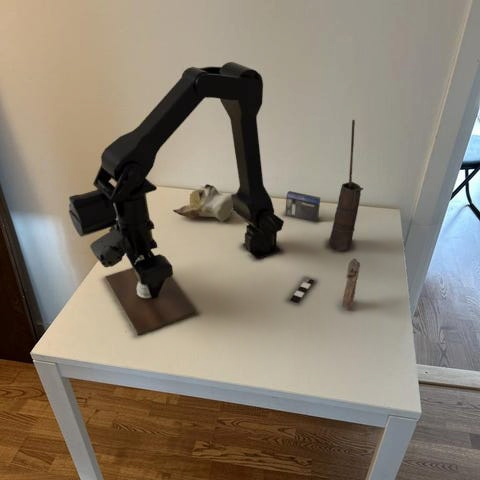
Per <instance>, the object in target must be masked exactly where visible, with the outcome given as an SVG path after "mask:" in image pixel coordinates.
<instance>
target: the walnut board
mask: <svg viewBox="0 0 480 480" xmlns="http://www.w3.org/2000/svg"><path fill="white" fill-rule="evenodd" d="M104 280H105V281H106V282H107V284H108V286H109V288H110V290H111V291H112V293H113V295H114V296H115V299H116V300H117V303H118V304H119V305H120V307H121V309H122V311H123V313H124V315H125V316H126V318H127V319H128V321H129V323H130V325H131V326H132V328H133V331H134V332H135V333H136V335H137V336H139V335H143V334H144V333H147V332H150V331H153V330H155V329H158V328H162V327H164V326H166V325H169V324H171V323H174V322H177V321H180V320H182V319H186V318H189V317H190V316H193V315H196V310H195V309H194V308H193V306H192V305H191V304H190V303H189V301H188V299H187V298H186V297H185V296H184V295H183V293H182V292H181V290H180V289H179V288H178V286H177V285H176V284H175V282H174V281H173V280H172V278H171V277H169V278H166V279H165V281H164V283H163V285H162V288H161V290H160V292H159V294H158V297H157V298H154V299H152V298H149V299H145V298H142V297H140V296H139V295H138V294H137V289H136V288H137V285H138V282H139V281H138V279H137V278H136V276H135V272H134V269H133V267H130V268H127V269H124V270H121V271H118V272H115V273H111V274H108V275H105V276H104Z"/></svg>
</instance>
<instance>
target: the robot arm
mask: <svg viewBox="0 0 480 480" xmlns="http://www.w3.org/2000/svg"><path fill="white" fill-rule="evenodd" d="M263 93H264V79H263V76H262V74H260V72H258V71H257V70H255V69H254V68H250V67H248V66H245V65H243V64H240V63H237V62H234V61H229V62H226V63H224V64H223V65H222V66H204V67H197V66H196V67H195V66H191V67H190V66H189V67H187V68H186V69H185V70H183V72H182V74H181V77H180V78H179V79H178V80H177V81H176V83H175V84H174V85H173V86H172V87H171V89H170V90H169V91H167V93H166V94H165V96H163V98H161V100H160V101H159V102H158V103H157V105H156V106H155V107H153V109H152V110H151V111H150V112H149V114H148V115H147V116H145V118H144V119H143V120H142V121H141V122H140V123H139V125H138V126H137V127H135V128H134V129H133V130H131V131H129V132H127V133H125V134H123V135H120V136H119V137H118V138H116V139H115V140H114V141H112V143H110V144H109V145H108V146H107V147H106V148H105V149H104V150H103V152H102V153H101V155H100V159H101V164H100V166H99V169H98V171H97V174H96V176H95V178H94V181H93V183H92V185H93V186H94V187H95V189H94V190H91V191H88V192H85V193H81V194H74V195H71V196H69V198H68V199H69V204H68V207H69V208H68V209H69V210H68V214H69V218H70V220H71V223H72V225H73V227H74V229H75V231H76V233H77V234H78V235H79V236H80V237H81V238H83V237H86V236H89V235H92V234H95V233H97V232H100V231H103V230H106V229H109V230H108V231H109V232H106V233H105V234H102V236H100V237H99V238H98V239H95V240H94V241H93V242H91V244H90V246H89V247H90V250H91V251H92V253H93V255H94V257H96V259H97V260H98V261H99V263H100V264H101V265H102V266H103V267H104V268H110V267H111V268H112V267H114V266H117V264H119V263H120V262H121V261H122V260H123V258H124V256H126V258H127V260H128V261H129V264H130V265H131V268H133V269H134V272H135V276H136V278H137V279H138V281H139V282H140V283H141V285H146V286H147V288H148V291H149V293H150V295H151V298H152V299H154V298H157V297H158V294H159V292H160V290H161V288H162V285H163V283H164V281H165V279H166V278H169V277H170V278H171V277H173V276H174V269H173V265H172V264H171V262H170V261H169V260H168V258H167V257H166V256H165V255H163V254H161V253H159V254H155V253H154V252H153V251H152V250H155V249H158V248H159V247H158V242H157V241H156V239H154V236H153V230H154V229H155V224H154V222H153V221H152V220H151V218H150V212H149V211H150V210H149V207H148V206H149V205H148V198H147V194H148V193H152V192H155V191H157V189H158V188H157V186H156V185H155V184H154V183H152V182H151V180H149V179H147V177H148V175H149V173H150V172H151V171H152V169H153V167H154V165H155V161H156V158H157V155H158V153H159V151H160V149H161V148H162V147H163V146H164V144H165V143H167V141H168V140H169V139H170V138H171V137H172V136H173V134H175V132H176V131H177V130H178V129H179V128H180V126H182V124H183V123H184V122H185V121H186V120H187V119H188V118H189V117H190V115H191V114H192V113H193V112H194V111H195V109H196V108H197V107H198V106H199V105H200V103H202V101H204V99H210V98H212V99H219V101H220V103H221V105H222V106H223V108H224V110H225V112H226V114H227V116H228V117H229V120H230V127H231V132H232V133H231V134H232V141H233V147H234V154H235V161H236V162H235V163H236V168H237V177H238V183H239V187H238V189H237V191H236V192H235V193H232V194H233V195H231V198H232V201H233V209H232V211H233V212H235V213H236V215H237V216H238V217H239V218H241V220H242V221H243V222H245V223H246V224H247V225H246V228H245V229H246V230H245V231H246V232H244V243H242V246H243V248H244V249H245V250H246V251H247V252H248V253H250V255H252V257H254V258H255V260H259V259H262V258H264V257H267V256H270V255H273V254H276V253H279V252H280V251H281V248H280V247H279V246H278V245H277V241H278V232H280V231H282V229H283V226H284V224H285V221H284V220H283V219H282V218H281V217H279V216H278V215H276V214H275V209H274V204H273V201H272V198H271V197H270V194H269V192H268V191H267V189H266V187H265V185H264V178H263V167H262V159H261V158H262V157H261V148H260V139H259V129H258V114H259V112H260V110H261V107H262V105H263V99H264V94H263ZM111 180H113V181H114V182H115V183H116V184H115V185H114V184H112V183H111V182H110V181H111ZM138 258H140V259H142V260H139V261H138V260H137V259H138ZM136 260H137V262H136ZM135 263H136V264H135Z"/></svg>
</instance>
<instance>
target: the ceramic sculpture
mask: <svg viewBox="0 0 480 480" xmlns="http://www.w3.org/2000/svg"><path fill="white" fill-rule="evenodd" d="M233 194H234V193H231V192H227V193H221V192H219V191H218V189H217V188H216V187H215V186H214V185H211V184H208V183H207V184H205V185H204V186H198V187H197V188H195V189H194V190H193V191H192V192H191V193H190V194H189V204H187V205H183V206H181V207H180V208H177V209H173V210H172V212H173V213H175V214H177V215H179V216H182V217H185V218H194V217H195V218H196V217H207V218H208V217H212V218H216V219H217V220H219V221H220V222H224V221H226V220H228V219H229V218H230V216H231V213H232V211H233V201H232V198H231V195H233Z"/></svg>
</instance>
